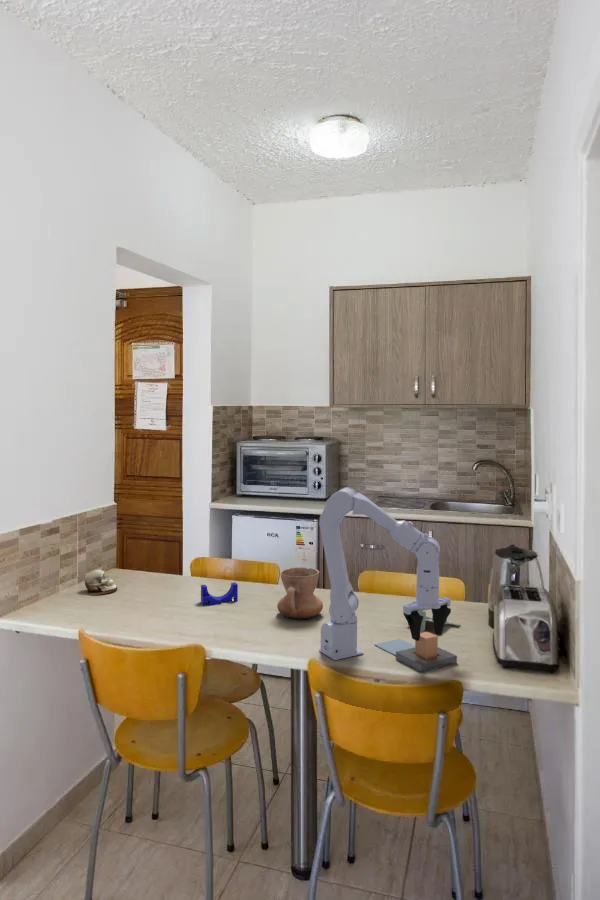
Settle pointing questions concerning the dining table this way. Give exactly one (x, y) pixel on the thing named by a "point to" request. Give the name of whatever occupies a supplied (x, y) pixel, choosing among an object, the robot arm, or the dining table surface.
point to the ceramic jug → (300, 593)
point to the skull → (99, 583)
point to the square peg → (426, 645)
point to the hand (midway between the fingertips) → (426, 636)
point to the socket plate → (429, 663)
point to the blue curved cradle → (212, 600)
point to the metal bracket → (430, 620)
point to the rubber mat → (395, 646)
